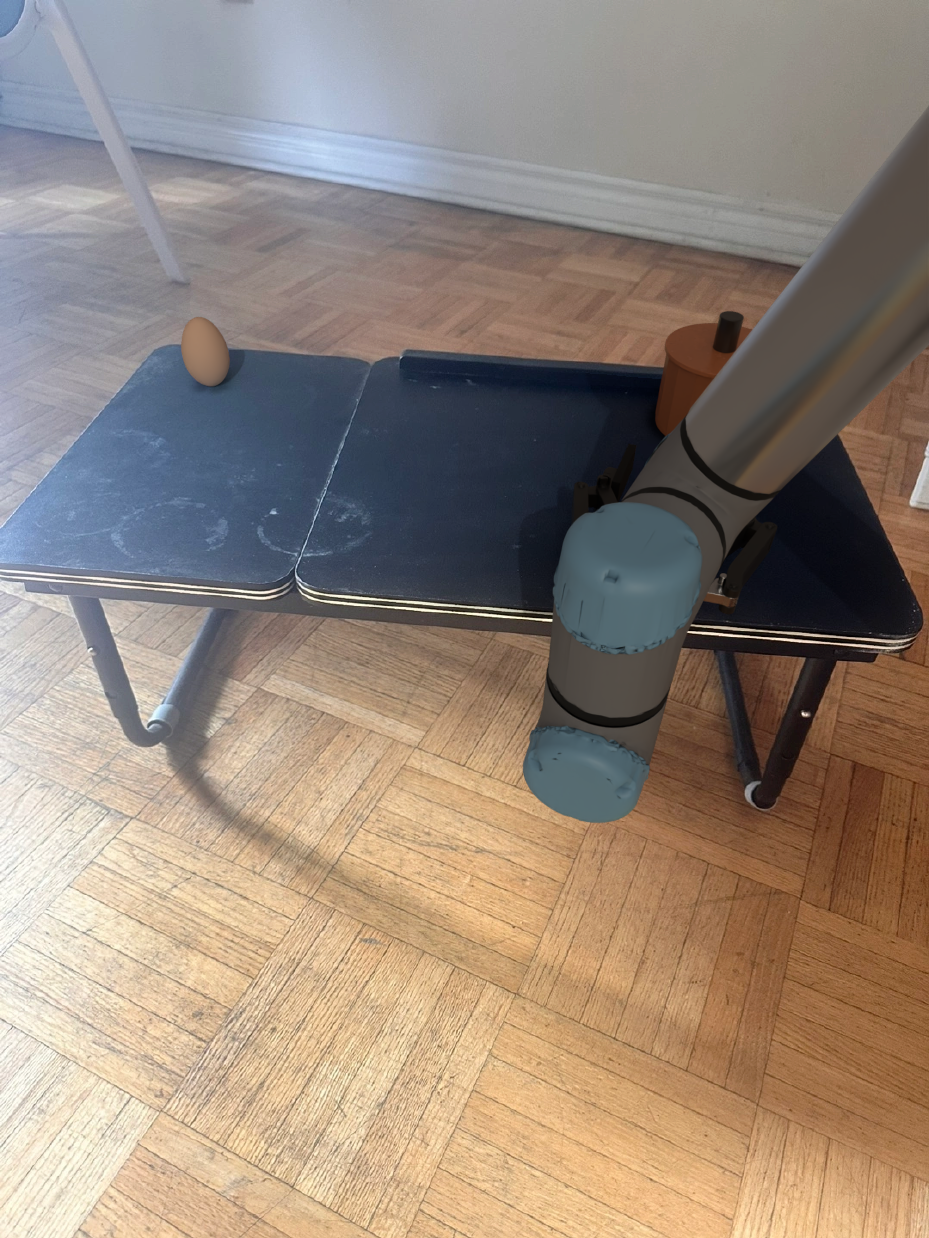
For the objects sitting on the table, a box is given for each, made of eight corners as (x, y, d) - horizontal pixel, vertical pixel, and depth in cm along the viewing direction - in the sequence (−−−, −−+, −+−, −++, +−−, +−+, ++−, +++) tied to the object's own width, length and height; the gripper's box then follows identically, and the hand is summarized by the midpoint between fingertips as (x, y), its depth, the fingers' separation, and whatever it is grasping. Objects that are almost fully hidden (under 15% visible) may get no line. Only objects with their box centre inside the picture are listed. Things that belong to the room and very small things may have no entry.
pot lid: (770, 335, 91) (781, 293, 87) (791, 389, 82) (805, 345, 79) (659, 330, 91) (666, 289, 88) (668, 383, 83) (677, 340, 80)
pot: (749, 400, 96) (768, 331, 90) (766, 454, 88) (788, 381, 82) (651, 396, 97) (664, 326, 91) (659, 449, 89) (673, 376, 83)
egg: (194, 399, 96) (177, 331, 90) (186, 379, 99) (169, 312, 94) (239, 390, 98) (225, 323, 92) (229, 370, 101) (215, 305, 95)
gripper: (487, 626, 65) (565, 477, 80) (775, 704, 60) (801, 528, 75) (489, 553, 60) (572, 408, 75) (805, 631, 54) (827, 458, 69)
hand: (686, 468), depth 75 cm, fingers open, 10 cm apart
